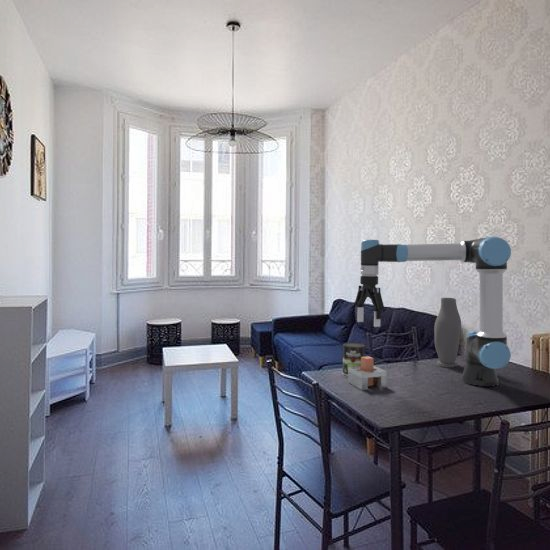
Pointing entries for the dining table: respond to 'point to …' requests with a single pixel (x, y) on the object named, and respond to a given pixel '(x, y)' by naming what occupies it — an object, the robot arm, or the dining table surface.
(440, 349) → the vase
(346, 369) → the coffee can
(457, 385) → the dining table surface
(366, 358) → the orange rectangular block
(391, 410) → the dining table surface
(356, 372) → the square tube ring
